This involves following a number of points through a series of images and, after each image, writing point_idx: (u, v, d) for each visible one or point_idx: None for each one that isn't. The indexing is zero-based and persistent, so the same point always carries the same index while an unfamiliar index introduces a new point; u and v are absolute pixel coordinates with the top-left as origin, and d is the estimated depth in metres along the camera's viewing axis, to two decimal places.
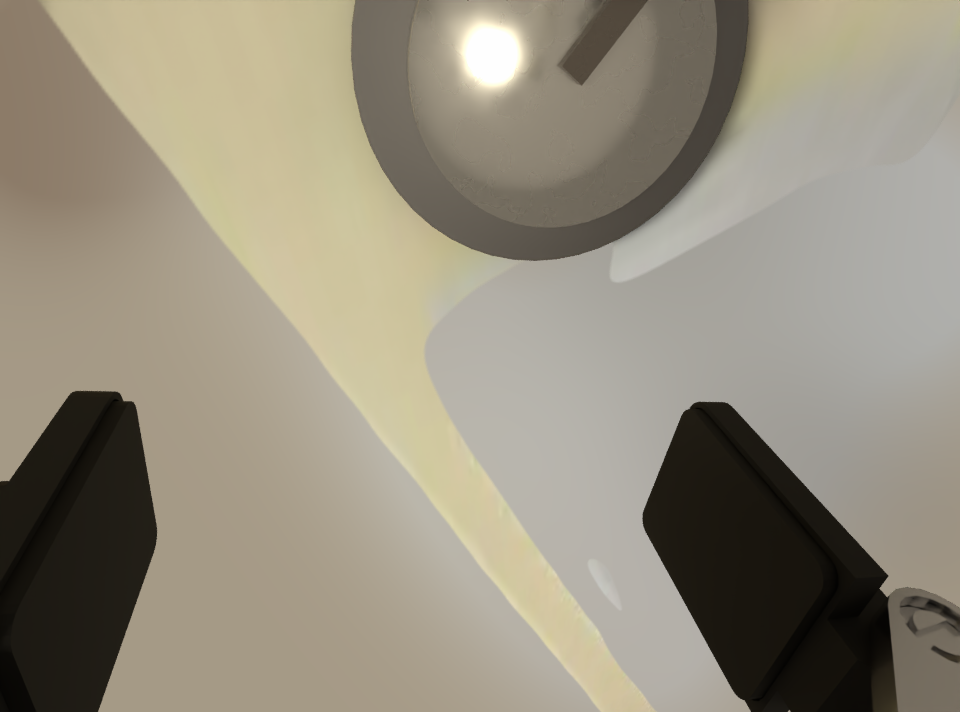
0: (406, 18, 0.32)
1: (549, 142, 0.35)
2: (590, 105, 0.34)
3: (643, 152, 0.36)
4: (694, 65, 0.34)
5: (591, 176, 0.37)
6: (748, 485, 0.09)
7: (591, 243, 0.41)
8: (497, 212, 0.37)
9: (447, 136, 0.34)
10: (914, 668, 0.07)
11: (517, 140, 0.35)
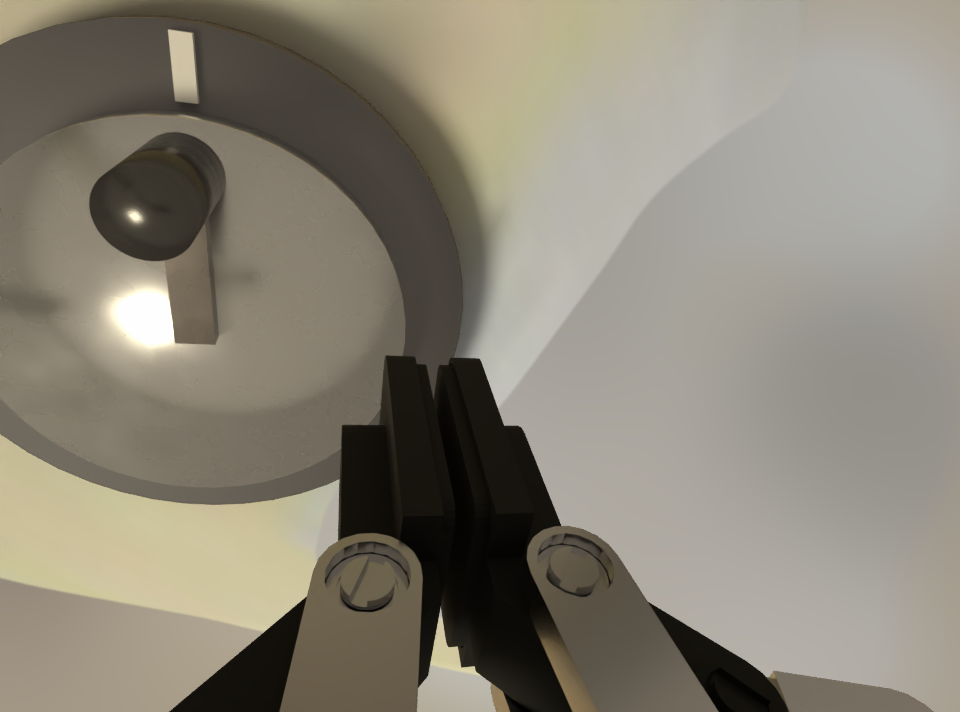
0: None
1: (244, 398, 0.28)
2: (254, 343, 0.26)
3: (360, 344, 0.27)
4: (340, 234, 0.25)
5: (321, 397, 0.29)
6: (456, 433, 0.09)
7: None
8: (250, 480, 0.30)
9: (133, 455, 0.28)
10: (579, 633, 0.06)
11: (207, 417, 0.28)
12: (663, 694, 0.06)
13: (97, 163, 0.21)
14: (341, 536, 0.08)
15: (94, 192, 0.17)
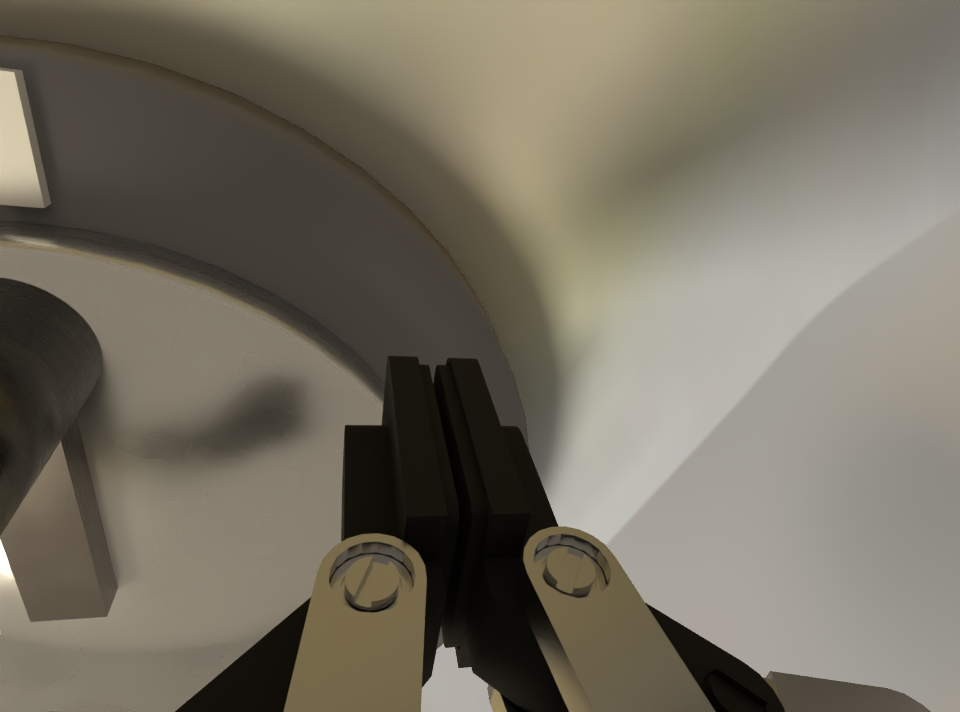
0: None
1: (171, 664, 0.17)
2: (182, 593, 0.15)
3: None
4: (328, 429, 0.13)
5: None
6: (453, 433, 0.09)
7: None
8: None
9: None
10: (576, 634, 0.06)
11: (111, 692, 0.17)
12: (659, 695, 0.06)
13: None
14: (345, 536, 0.08)
15: None
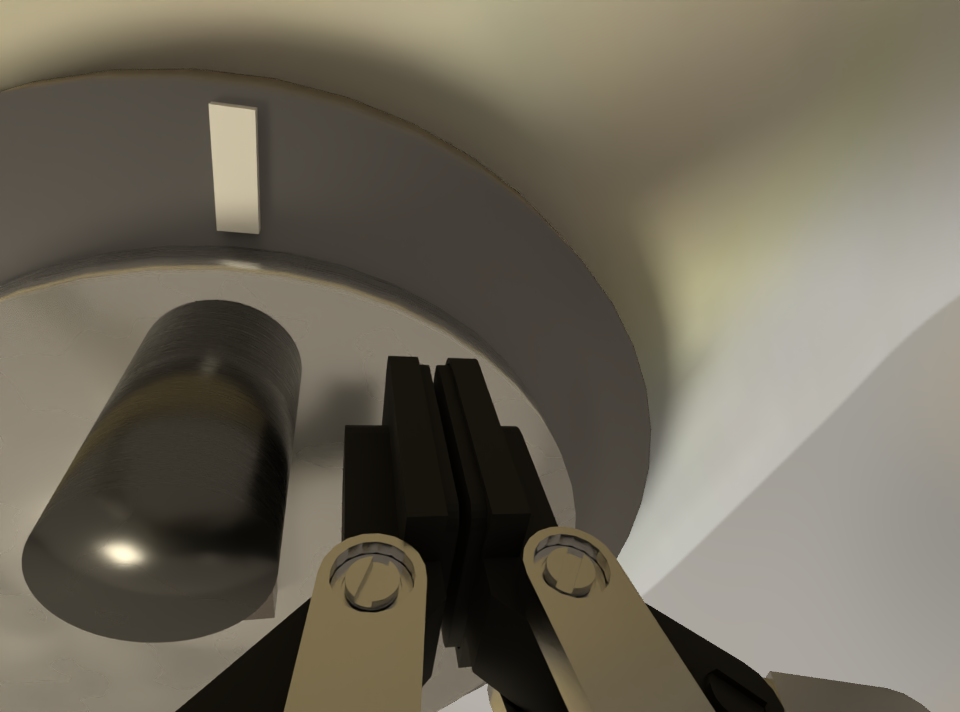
0: None
1: None
2: None
3: None
4: None
5: None
6: (453, 433, 0.09)
7: None
8: None
9: None
10: (576, 634, 0.06)
11: None
12: (659, 695, 0.06)
13: (61, 361, 0.11)
14: (345, 537, 0.08)
15: (33, 546, 0.07)
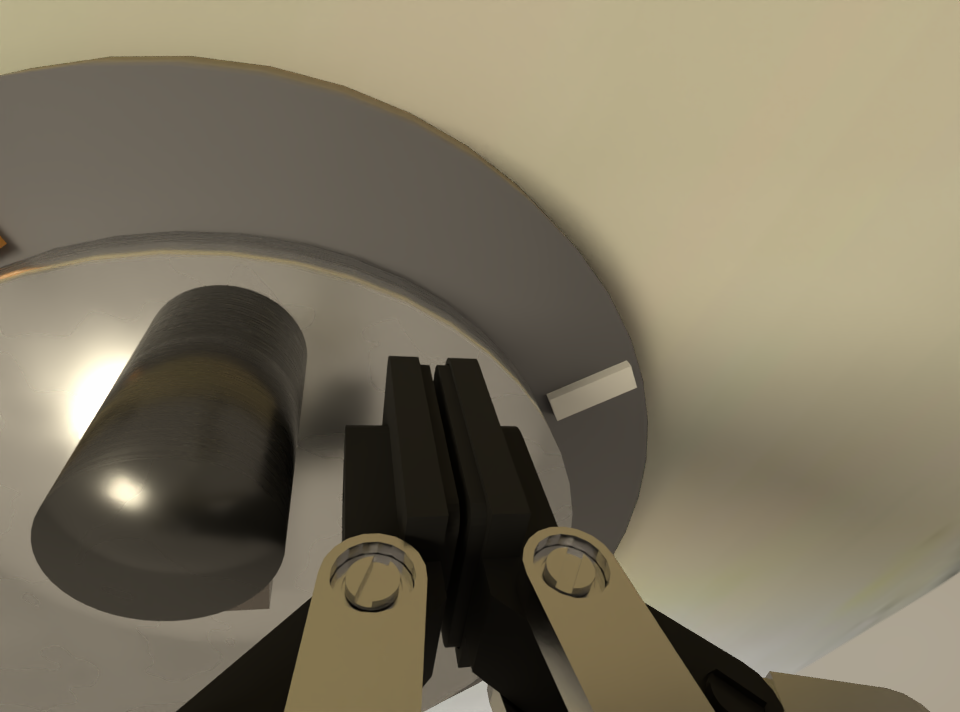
0: None
1: None
2: None
3: None
4: None
5: None
6: (452, 433, 0.09)
7: None
8: None
9: None
10: (576, 634, 0.06)
11: None
12: (659, 696, 0.06)
13: (67, 342, 0.11)
14: (345, 536, 0.08)
15: (44, 517, 0.07)
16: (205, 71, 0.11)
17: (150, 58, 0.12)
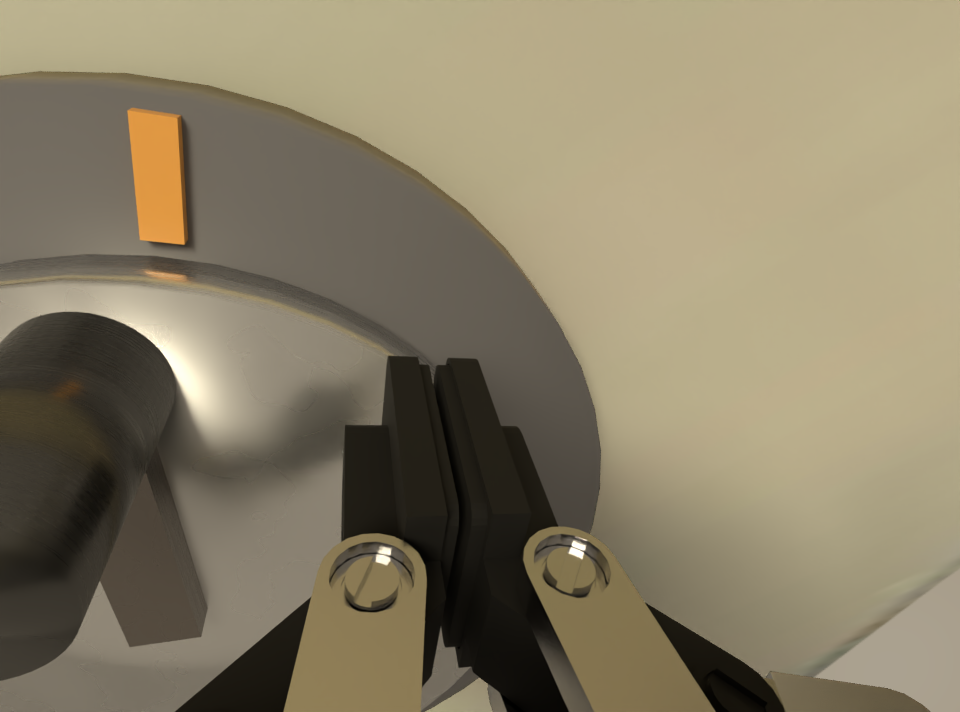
0: None
1: None
2: (269, 608, 0.15)
3: None
4: None
5: None
6: (453, 433, 0.09)
7: None
8: None
9: None
10: (576, 634, 0.06)
11: None
12: (659, 695, 0.06)
13: None
14: (345, 536, 0.08)
15: None
16: (448, 212, 0.13)
17: (392, 161, 0.13)
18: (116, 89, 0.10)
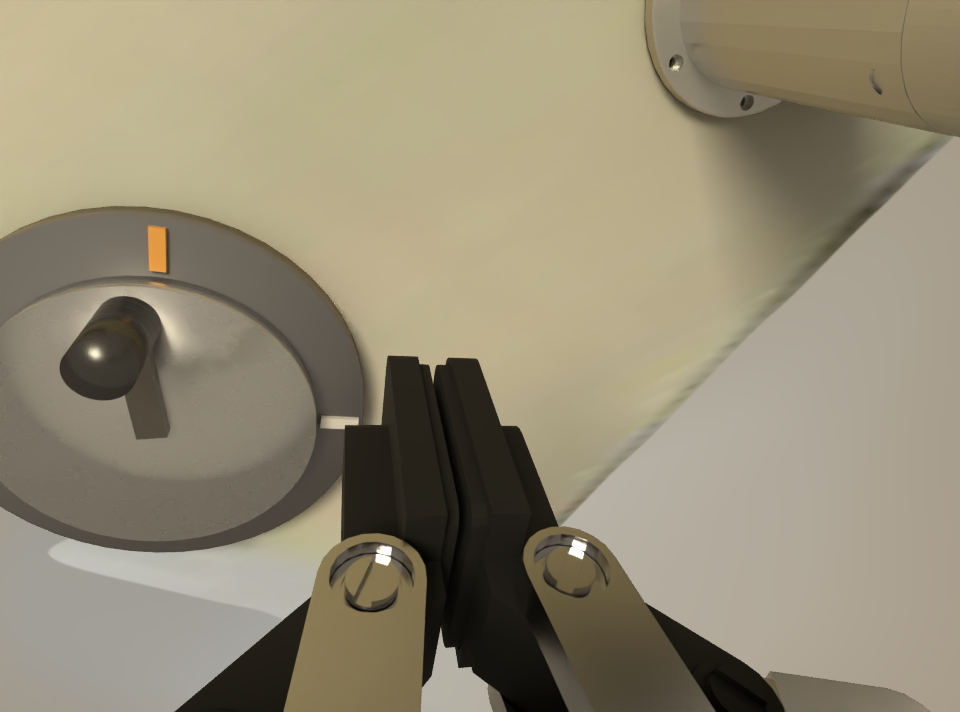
0: (86, 273, 0.31)
1: (196, 471, 0.36)
2: (198, 431, 0.35)
3: (281, 424, 0.36)
4: (252, 349, 0.33)
5: (256, 465, 0.37)
6: (453, 433, 0.09)
7: (52, 525, 0.38)
8: (209, 531, 0.39)
9: (115, 521, 0.37)
10: (576, 634, 0.06)
11: (169, 488, 0.36)
12: (659, 695, 0.06)
13: (66, 322, 0.30)
14: (345, 536, 0.08)
15: (62, 363, 0.26)
16: (272, 262, 0.32)
17: (252, 239, 0.33)
18: (143, 219, 0.30)
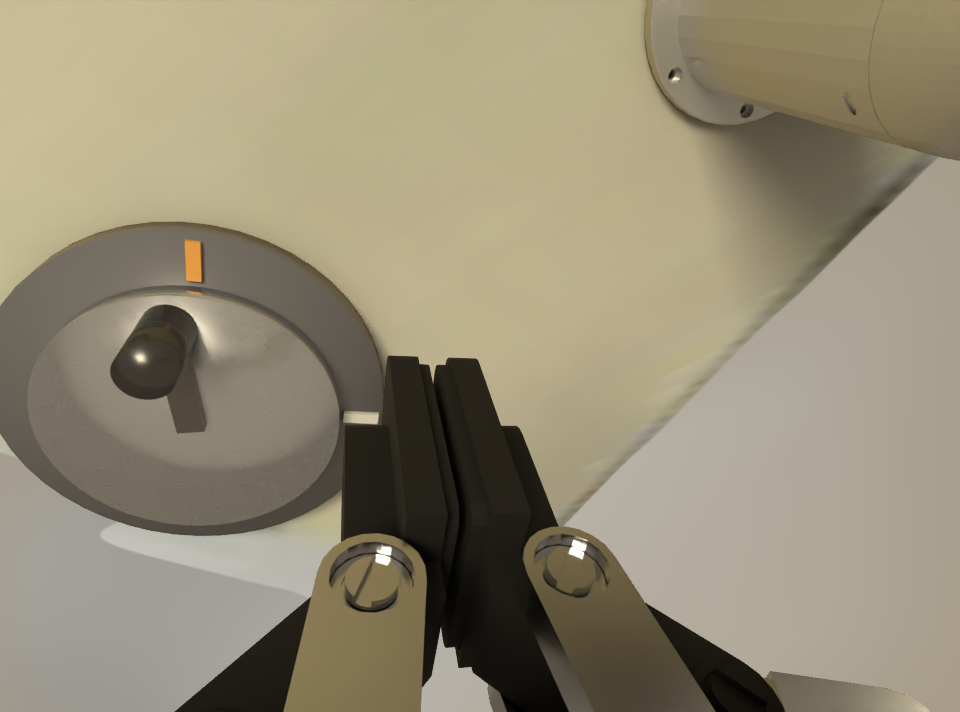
0: (131, 283, 0.34)
1: (230, 462, 0.39)
2: (232, 426, 0.38)
3: (307, 419, 0.39)
4: (279, 351, 0.36)
5: (285, 457, 0.40)
6: (453, 433, 0.09)
7: (103, 510, 0.42)
8: (243, 517, 0.42)
9: (159, 507, 0.40)
10: (577, 634, 0.06)
11: (206, 477, 0.40)
12: (659, 695, 0.06)
13: (114, 329, 0.33)
14: (345, 536, 0.08)
15: (112, 366, 0.29)
16: (296, 270, 0.35)
17: (278, 250, 0.36)
18: (181, 234, 0.33)
